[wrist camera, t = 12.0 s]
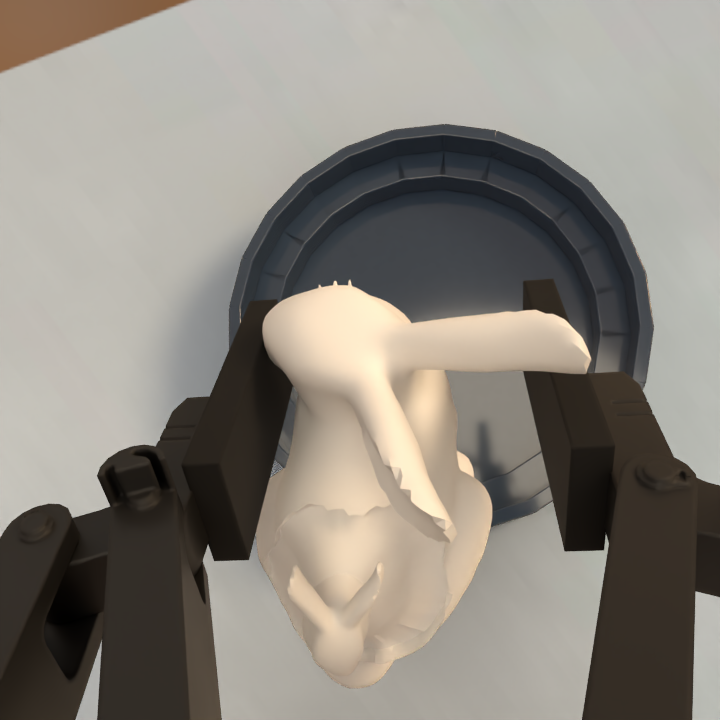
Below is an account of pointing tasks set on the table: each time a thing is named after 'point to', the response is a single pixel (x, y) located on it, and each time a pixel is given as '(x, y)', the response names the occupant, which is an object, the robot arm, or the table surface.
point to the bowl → (460, 269)
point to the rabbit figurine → (383, 469)
